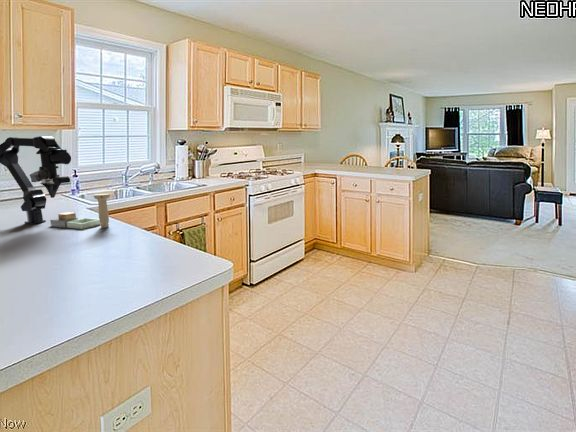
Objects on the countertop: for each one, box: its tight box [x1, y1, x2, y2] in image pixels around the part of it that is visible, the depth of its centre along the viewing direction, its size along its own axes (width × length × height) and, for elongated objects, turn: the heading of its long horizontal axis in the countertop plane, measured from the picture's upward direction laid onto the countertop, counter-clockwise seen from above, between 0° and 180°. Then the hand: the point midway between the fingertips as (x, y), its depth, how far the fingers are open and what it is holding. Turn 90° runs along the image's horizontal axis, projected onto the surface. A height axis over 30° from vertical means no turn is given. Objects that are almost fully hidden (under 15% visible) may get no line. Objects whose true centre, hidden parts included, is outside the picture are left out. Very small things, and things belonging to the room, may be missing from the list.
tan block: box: [57, 211, 77, 220], centre depth 183 cm, size 5×5×2 cm
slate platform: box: [50, 217, 79, 228], centre depth 183 cm, size 9×7×3 cm
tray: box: [66, 217, 101, 230], centre depth 181 cm, size 10×10×2 cm
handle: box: [93, 193, 111, 229], centre depth 177 cm, size 5×6×15 cm
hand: (52, 197), depth 184 cm, fingers closed
